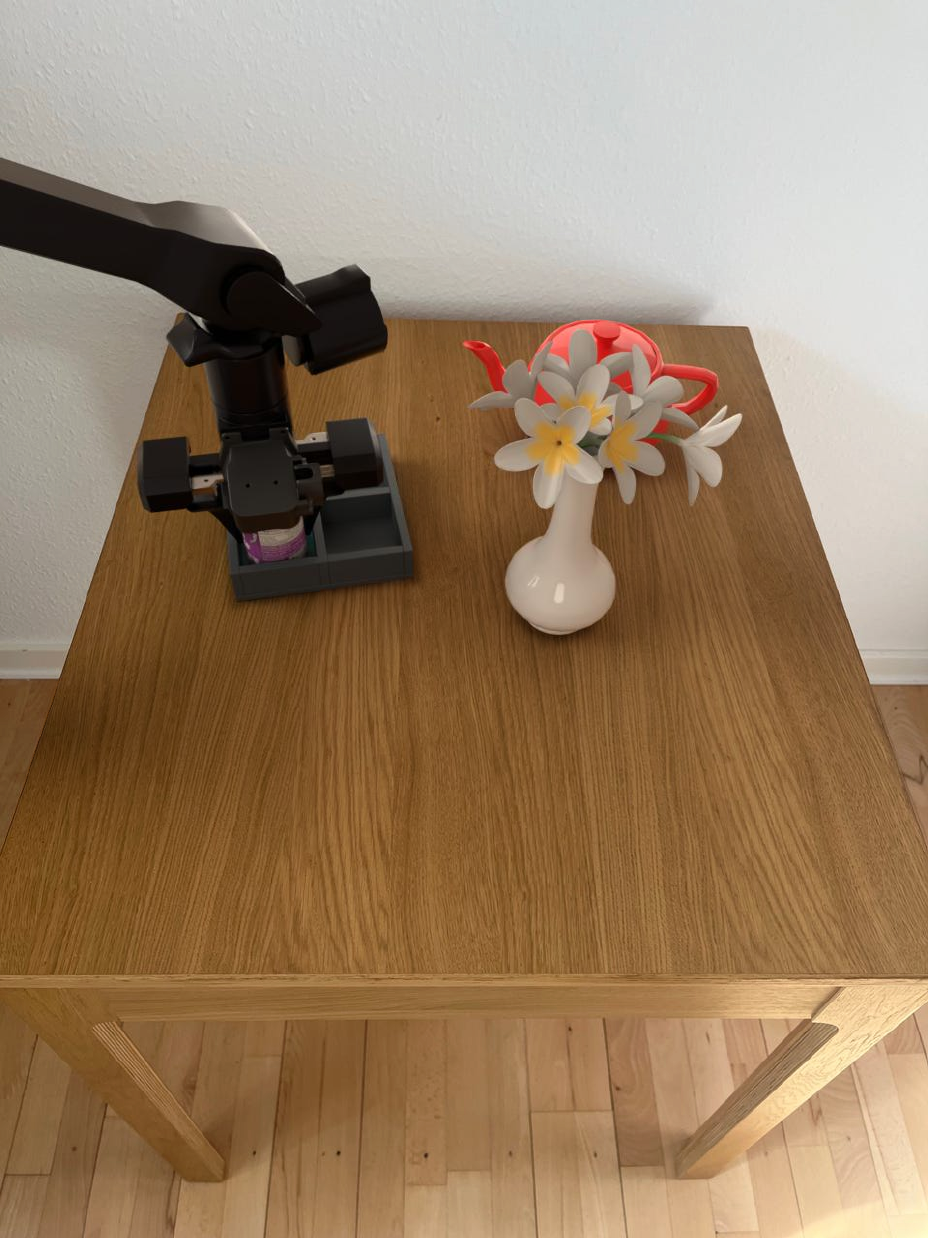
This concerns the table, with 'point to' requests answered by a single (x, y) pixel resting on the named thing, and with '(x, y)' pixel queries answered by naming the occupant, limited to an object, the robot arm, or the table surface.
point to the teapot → (608, 342)
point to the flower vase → (588, 468)
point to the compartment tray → (337, 545)
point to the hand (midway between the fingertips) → (274, 535)
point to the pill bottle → (276, 544)
